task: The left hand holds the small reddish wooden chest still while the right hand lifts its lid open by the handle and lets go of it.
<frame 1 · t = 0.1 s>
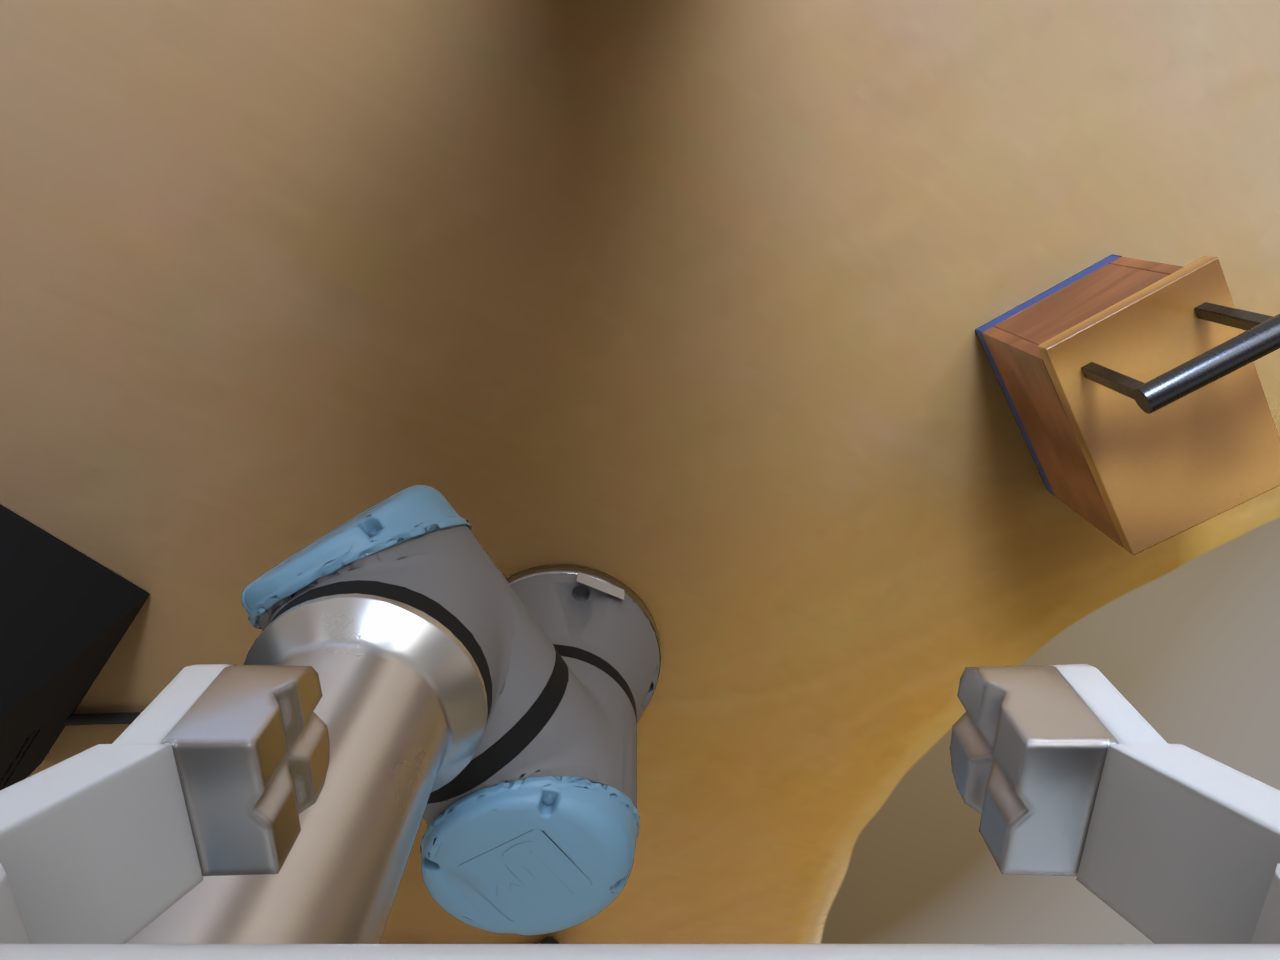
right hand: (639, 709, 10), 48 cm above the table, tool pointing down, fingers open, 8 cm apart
chest: (1078, 378, 58), on the table
lid: (1205, 430, 44), point 14 cm above the table, hinge at 0.0°
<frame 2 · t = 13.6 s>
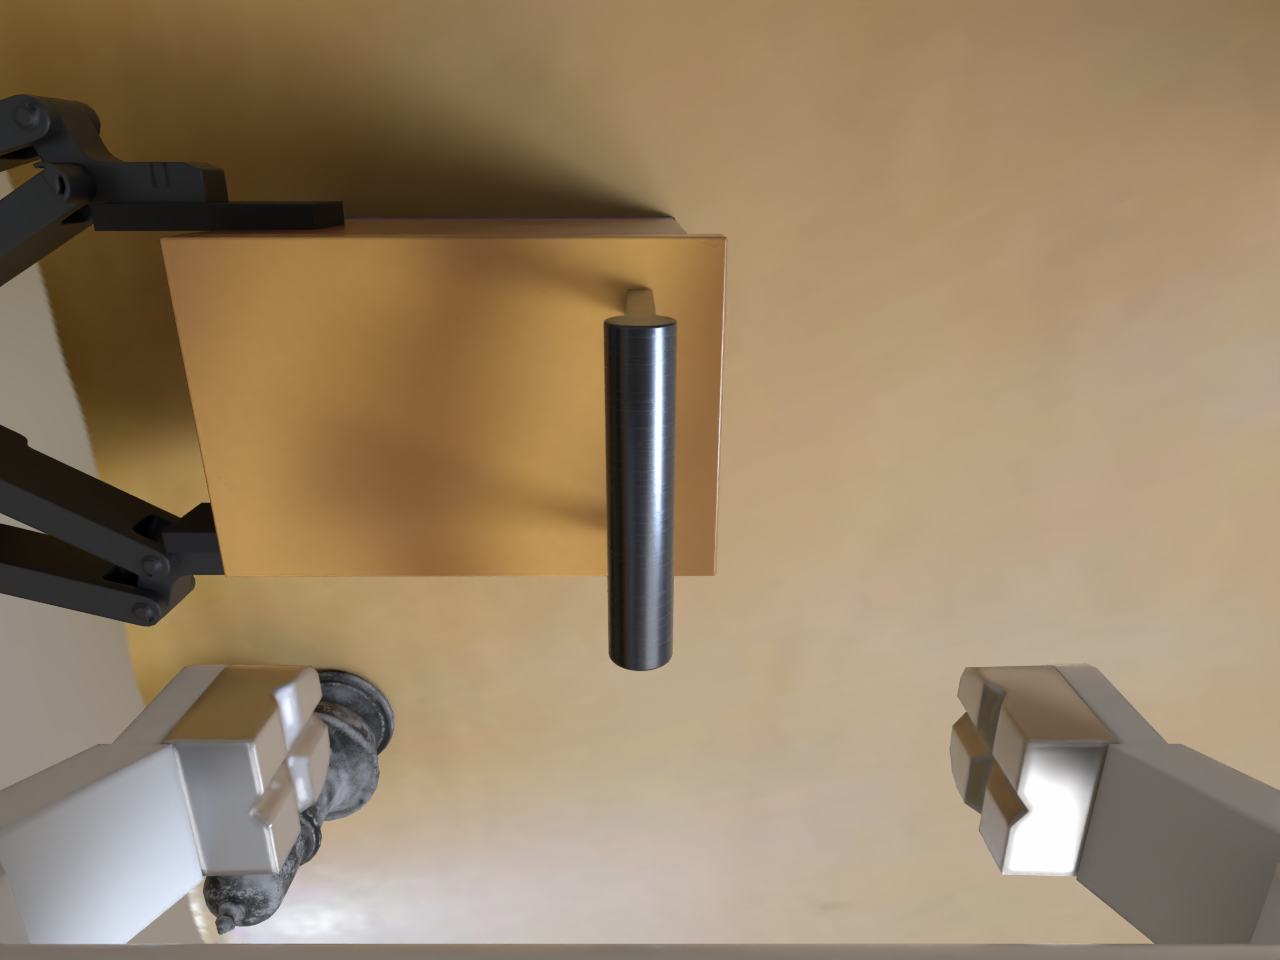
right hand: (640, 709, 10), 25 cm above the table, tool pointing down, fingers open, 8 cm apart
chest: (502, 343, 33), on the table, touching left hand
grey chess piece: (340, 715, 40), on the table
lid: (434, 451, 20), point 14 cm above the table, hinge at 0.0°
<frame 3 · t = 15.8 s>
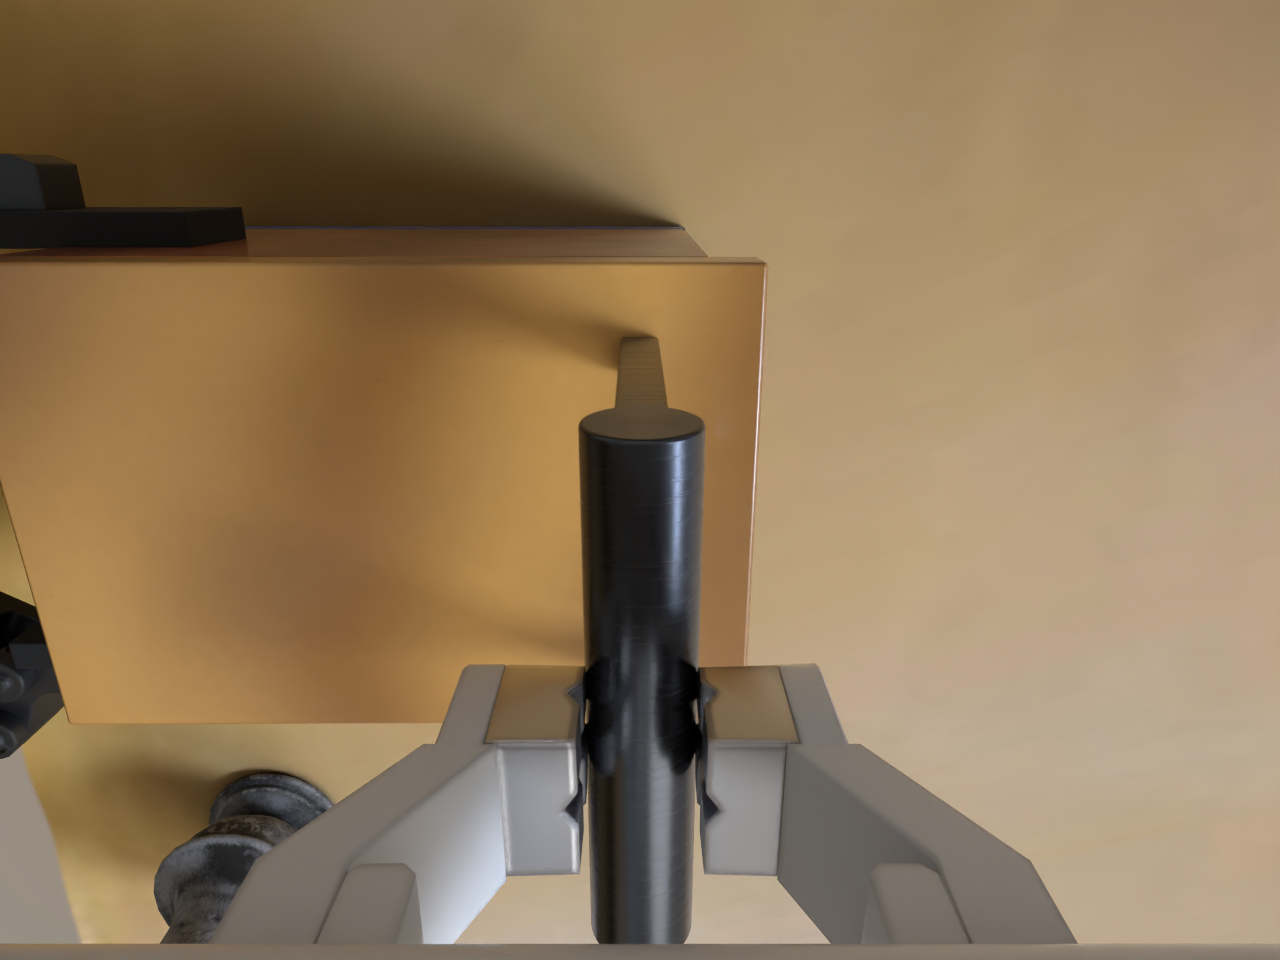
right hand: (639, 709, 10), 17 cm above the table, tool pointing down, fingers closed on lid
chest: (468, 383, 27), on the table, touching left hand
grey chess piece: (279, 823, 33), on the table
lid: (332, 584, 14), point 14 cm above the table, hinge at -0.1°, touching right hand
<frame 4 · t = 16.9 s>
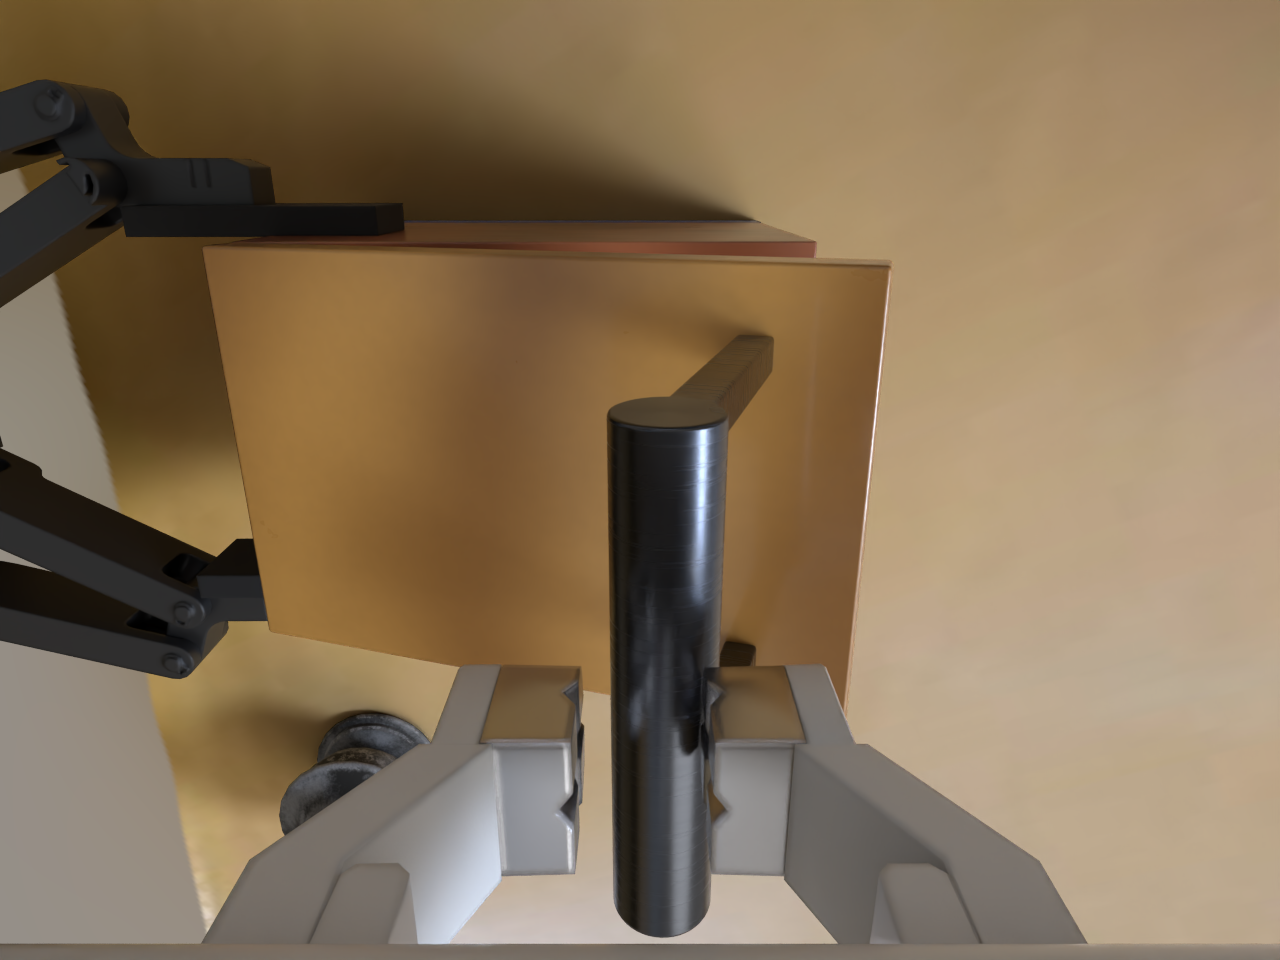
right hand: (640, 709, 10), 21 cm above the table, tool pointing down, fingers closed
chest: (563, 359, 30), on the table, touching left hand
grey chess piece: (379, 760, 37), on the table
lid: (448, 539, 15), point 16 cm above the table, hinge at 18.2°, touching right hand
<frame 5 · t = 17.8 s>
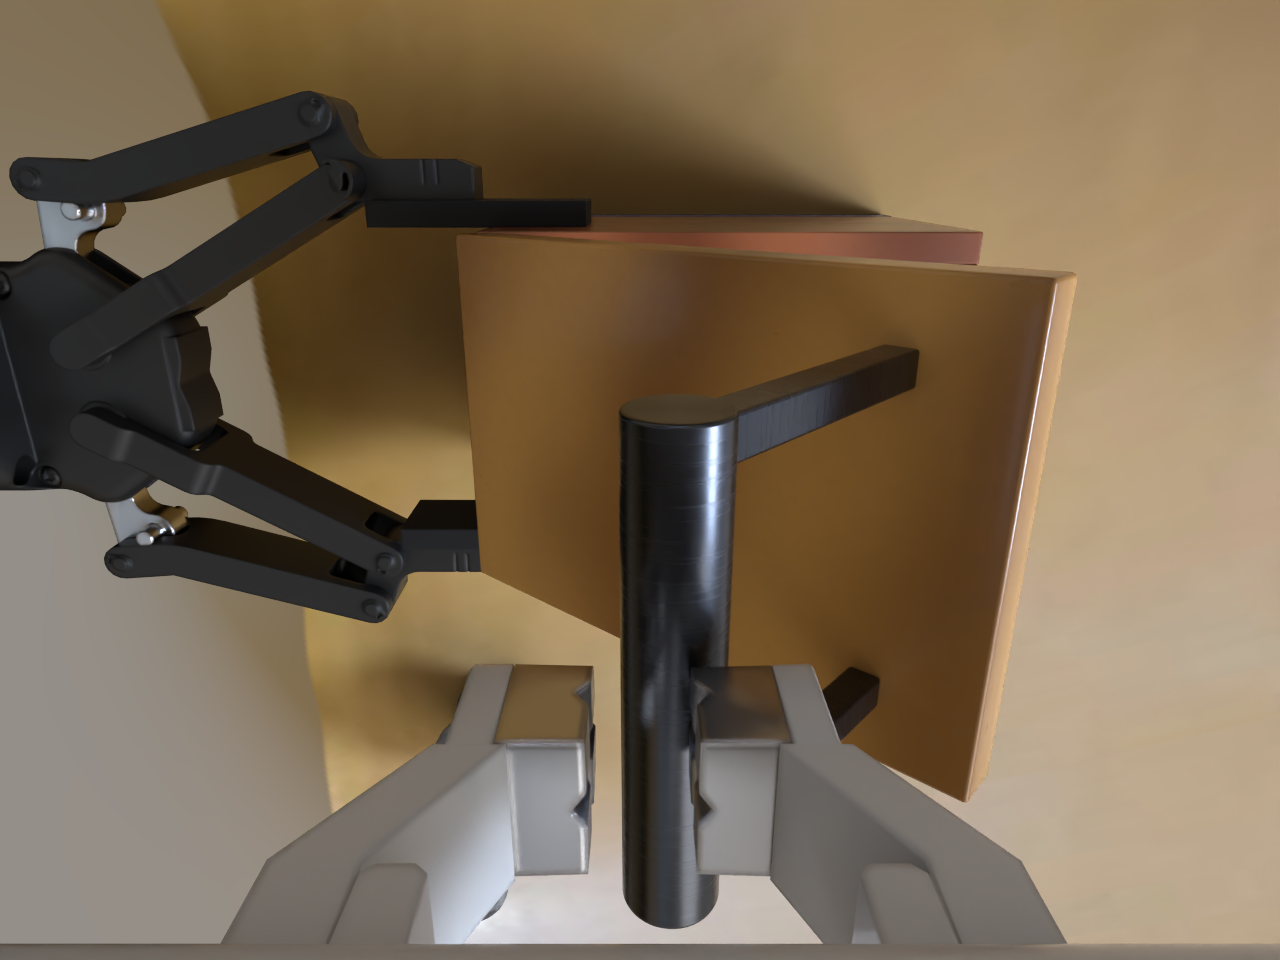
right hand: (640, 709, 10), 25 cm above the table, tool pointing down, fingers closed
left hand: (591, 378, 27), fingers closed on chest, 10 cm apart
chest: (700, 341, 33), on the table, touching left hand
grey chess piece: (511, 713, 40), on the table
lid: (580, 511, 17), point 18 cm above the table, hinge at 41.4°, touching right hand
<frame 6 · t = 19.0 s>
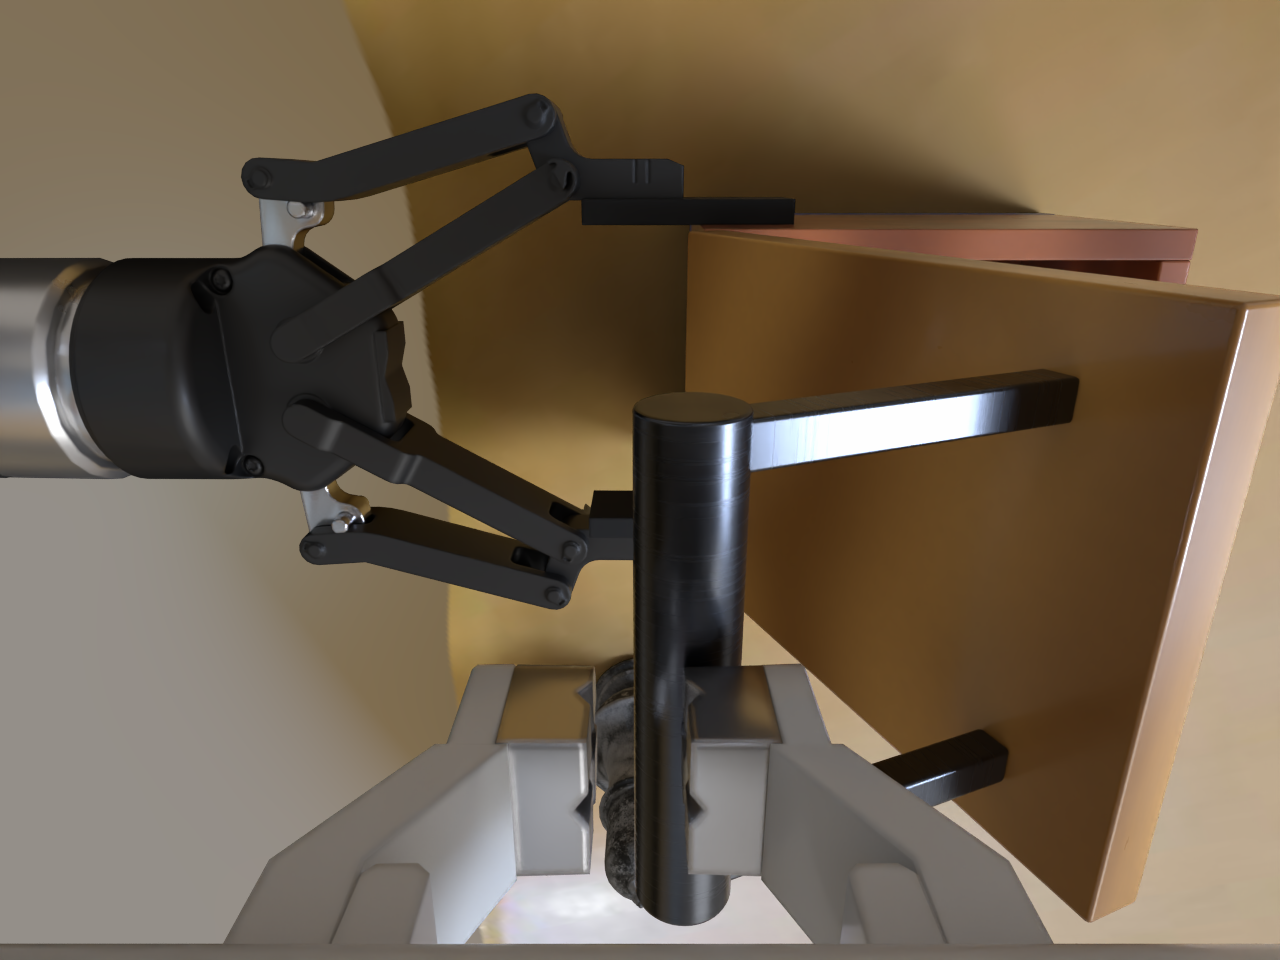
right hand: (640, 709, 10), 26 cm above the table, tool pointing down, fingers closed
left hand: (778, 372, 28), fingers closed on chest, 10 cm apart
chest: (853, 337, 34), on the table, touching left hand
grey chess piece: (644, 701, 41), on the table
lid: (718, 507, 17), point 19 cm above the table, hinge at 65.6°, touching right hand
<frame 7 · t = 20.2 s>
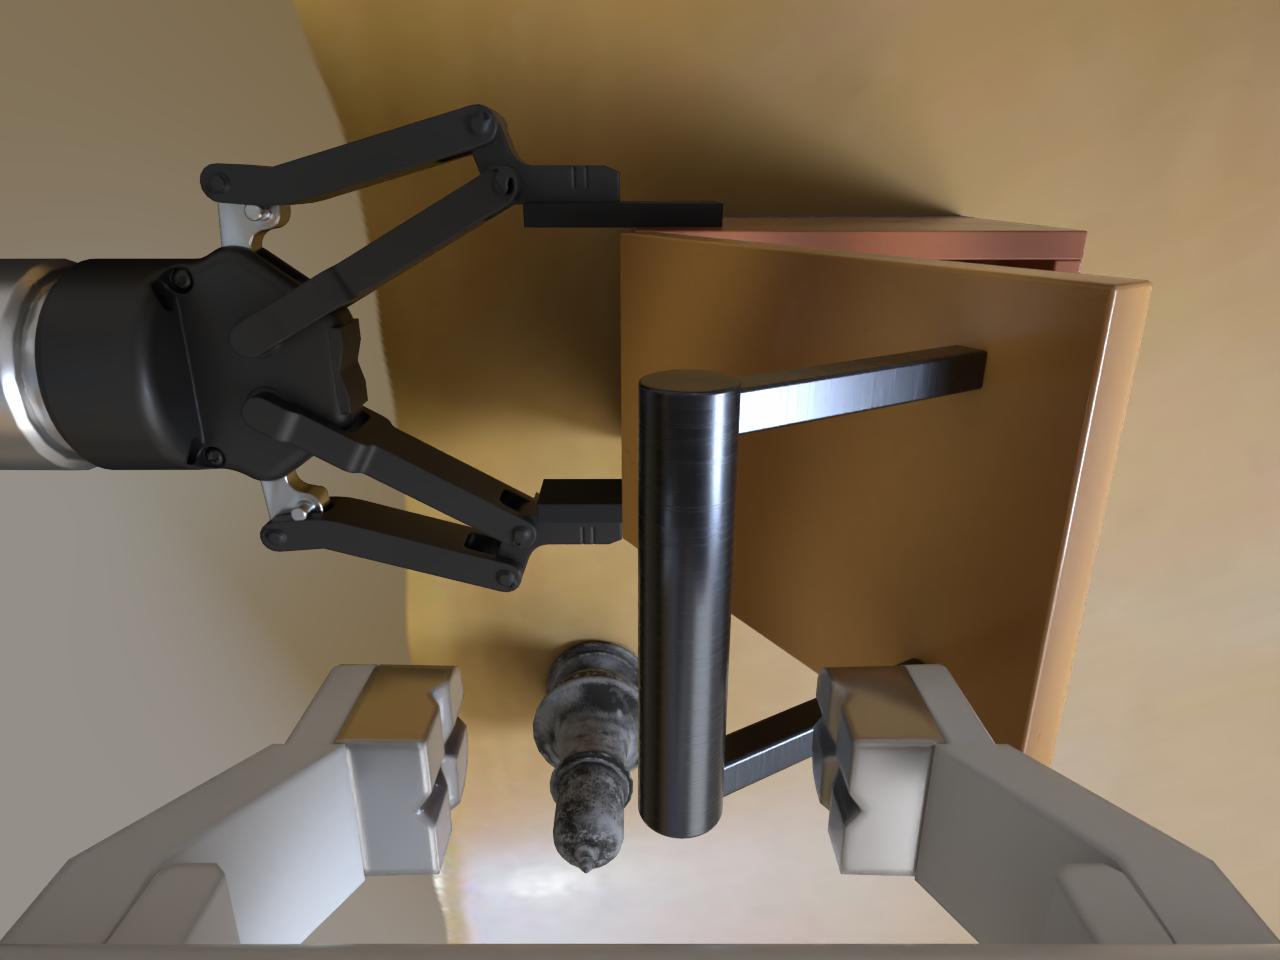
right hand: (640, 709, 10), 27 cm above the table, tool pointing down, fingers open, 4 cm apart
left hand: (713, 365, 30), fingers closed on chest, 10 cm apart
chest: (791, 333, 36), on the table, touching left hand
grey chess piece: (598, 684, 42), on the table
lid: (675, 481, 18), point 19 cm above the table, hinge at 59.0°
when the left hand's fingers open (7 cm above the table, at t = 23.3 s): chest stays where it is, on the table.
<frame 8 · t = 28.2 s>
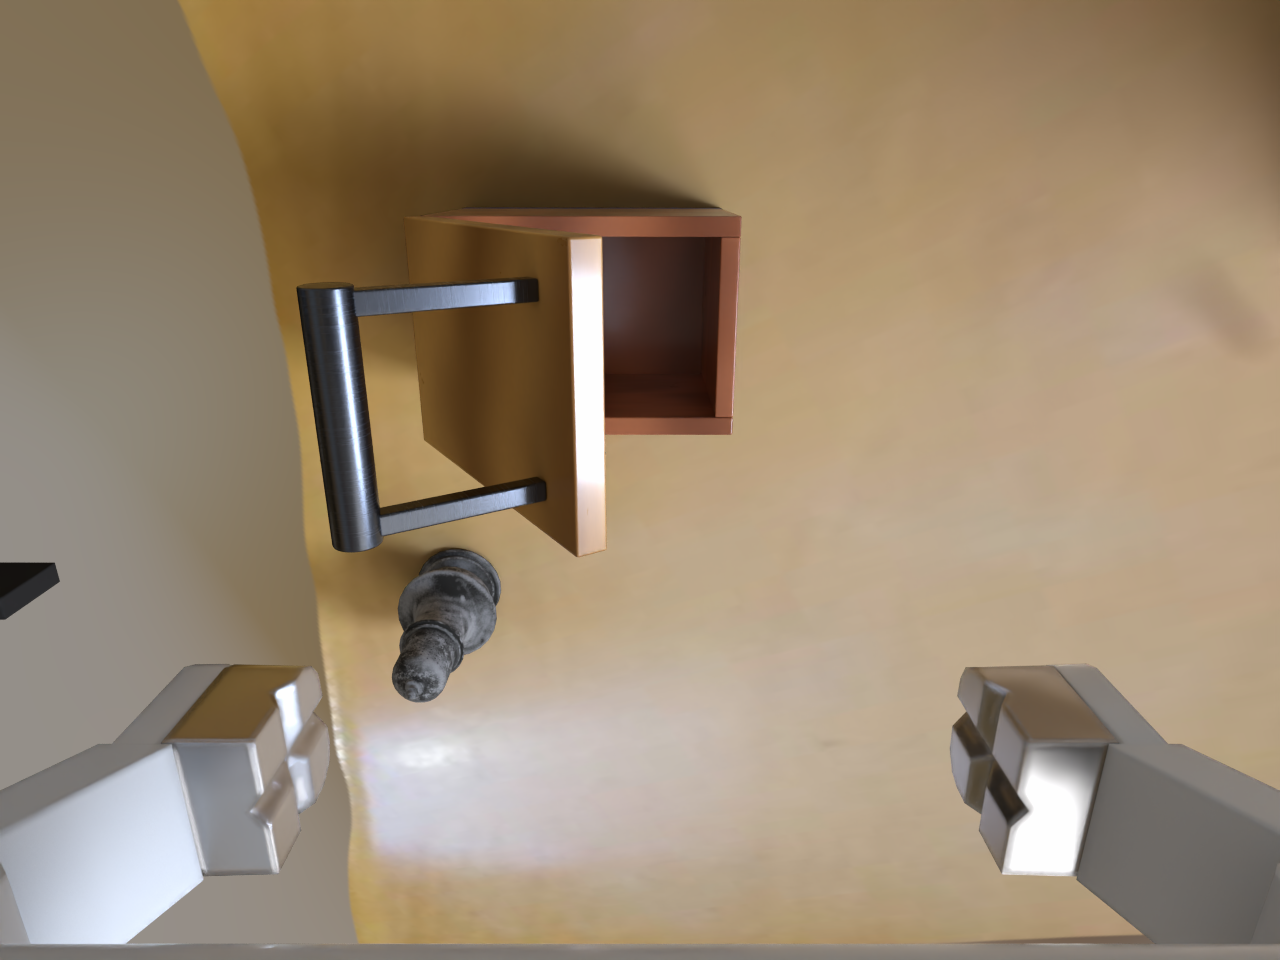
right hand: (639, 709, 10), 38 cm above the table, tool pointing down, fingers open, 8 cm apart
chest: (594, 299, 46), on the table
grey chess piece: (460, 585, 53), on the table
lid: (401, 373, 29), point 19 cm above the table, hinge at 57.5°
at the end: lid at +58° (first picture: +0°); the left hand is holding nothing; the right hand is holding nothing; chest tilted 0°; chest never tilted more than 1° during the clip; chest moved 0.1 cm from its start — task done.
